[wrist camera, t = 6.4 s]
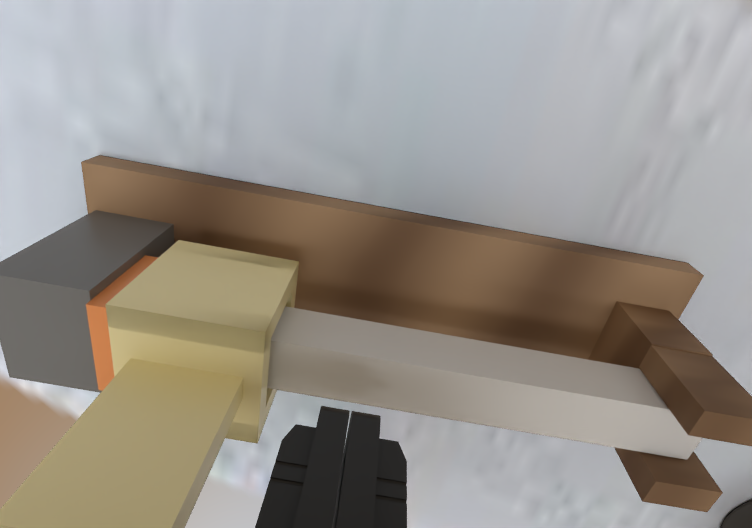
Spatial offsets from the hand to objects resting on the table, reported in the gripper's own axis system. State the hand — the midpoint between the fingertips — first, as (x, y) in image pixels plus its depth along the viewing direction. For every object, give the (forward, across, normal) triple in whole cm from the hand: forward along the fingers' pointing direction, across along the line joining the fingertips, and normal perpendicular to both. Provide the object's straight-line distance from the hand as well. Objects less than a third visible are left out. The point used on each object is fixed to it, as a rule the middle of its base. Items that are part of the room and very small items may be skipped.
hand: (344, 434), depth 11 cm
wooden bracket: (+8, -1, 0) cm, 8 cm away
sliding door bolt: (+6, 0, 0) cm, 6 cm away
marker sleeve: (+5, +4, 0) cm, 7 cm away
